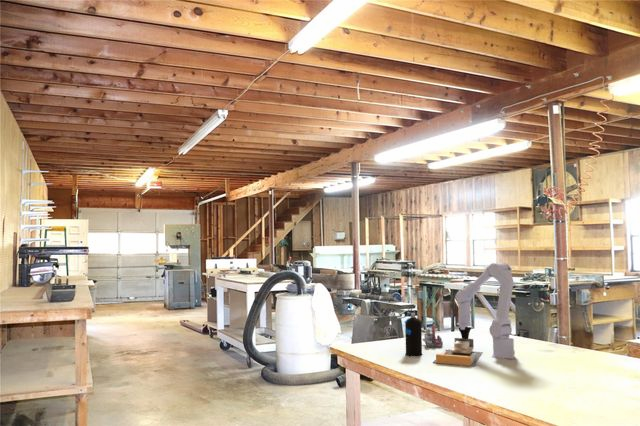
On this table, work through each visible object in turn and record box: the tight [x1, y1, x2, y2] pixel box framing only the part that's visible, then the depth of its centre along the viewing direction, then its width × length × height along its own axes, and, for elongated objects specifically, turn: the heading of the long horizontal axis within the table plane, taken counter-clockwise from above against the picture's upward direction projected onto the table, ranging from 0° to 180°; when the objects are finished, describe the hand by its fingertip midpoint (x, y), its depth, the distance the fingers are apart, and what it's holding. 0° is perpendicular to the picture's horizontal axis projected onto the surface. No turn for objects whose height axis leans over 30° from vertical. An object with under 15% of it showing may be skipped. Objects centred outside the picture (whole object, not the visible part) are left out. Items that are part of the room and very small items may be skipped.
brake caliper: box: [422, 325, 444, 348], centre depth 262 cm, size 11×11×12 cm
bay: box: [432, 348, 484, 368], centre depth 235 cm, size 18×31×4 cm, turn 155°
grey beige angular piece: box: [450, 337, 475, 356], centre depth 244 cm, size 9×12×6 cm
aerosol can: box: [404, 312, 424, 357], centre depth 242 cm, size 8×8×20 cm
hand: (465, 342), depth 252 cm, fingers closed
